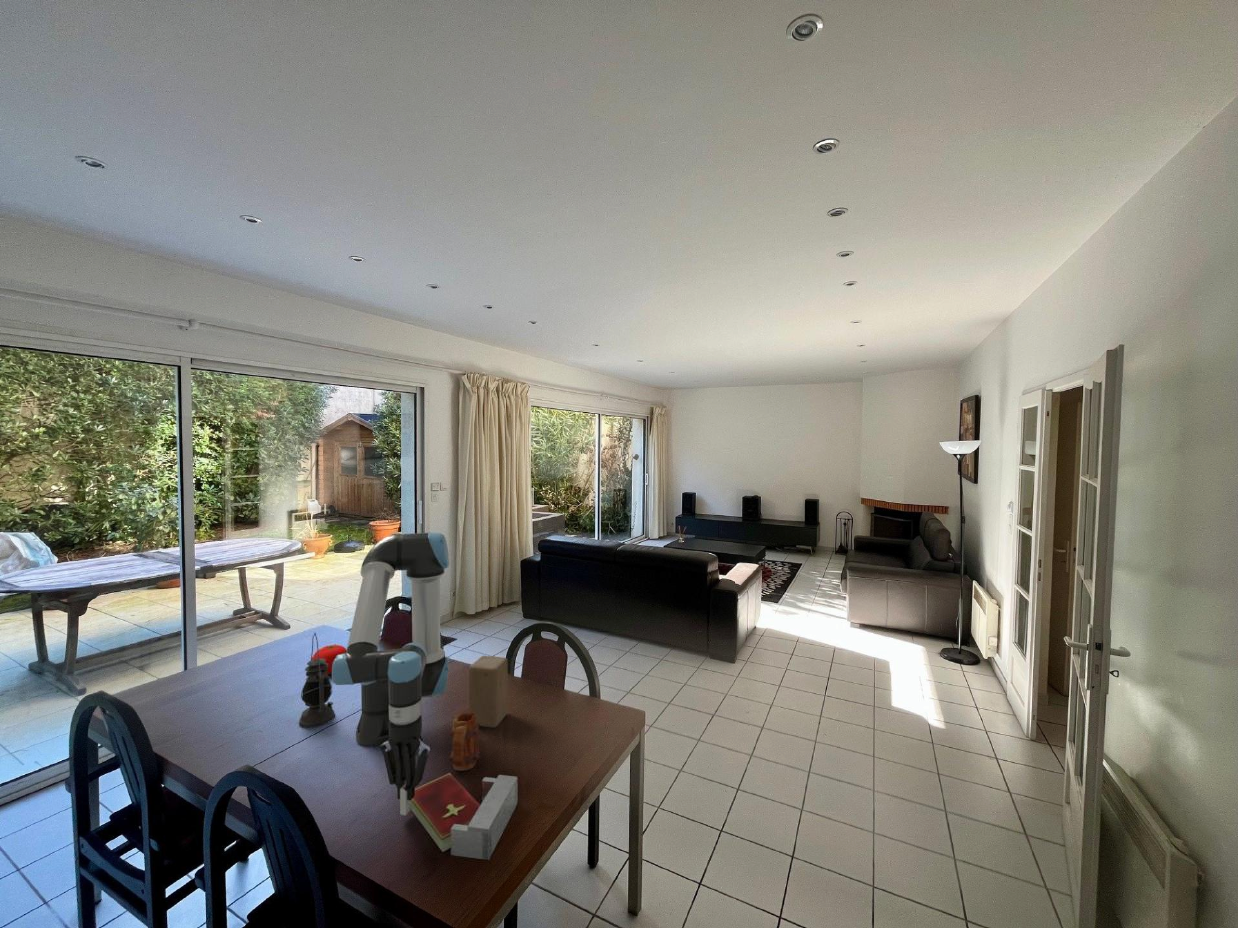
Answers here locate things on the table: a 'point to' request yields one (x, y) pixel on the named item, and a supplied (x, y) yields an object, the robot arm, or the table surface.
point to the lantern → (316, 694)
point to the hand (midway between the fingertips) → (406, 810)
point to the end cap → (486, 819)
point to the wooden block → (488, 690)
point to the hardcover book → (443, 808)
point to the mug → (464, 741)
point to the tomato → (330, 655)
